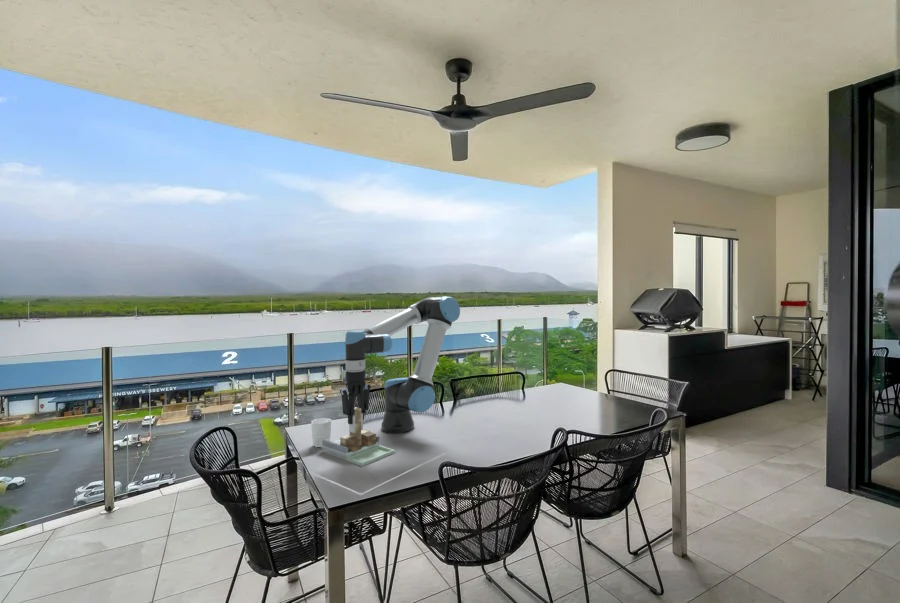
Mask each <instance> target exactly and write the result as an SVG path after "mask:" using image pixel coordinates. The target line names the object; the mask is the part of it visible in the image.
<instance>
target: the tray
mask: <svg viewBox="0 0 900 603" xmlns="http://www.w3.org/2000/svg"><path fill="white" fill-rule="evenodd" d="M395 453H396V450H395V449H393V448H390V447H386V446H384V445H381V444H379V445H378V446H375V447H373V448H370V449H368V450H365V451H362V452H360V453H357V454H354V455H352V456H349V457H347V458H346V460H345V461H346V462H349V463H352V464H354V465H358V466H360V467H364V466H367V465H369V464H371V463H374V462H375V461H378V460H380V459H383V458H385V457H388V456H391V455H393V454H395Z"/></svg>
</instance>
